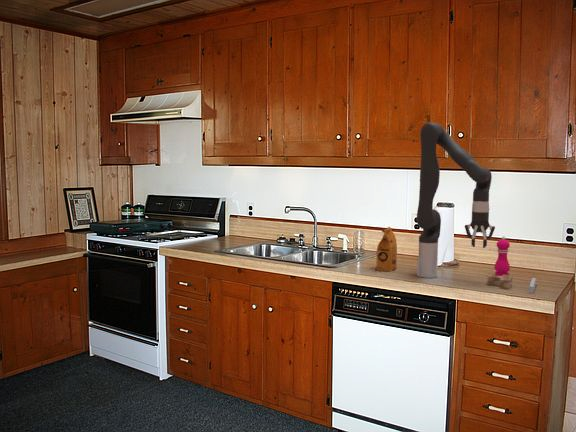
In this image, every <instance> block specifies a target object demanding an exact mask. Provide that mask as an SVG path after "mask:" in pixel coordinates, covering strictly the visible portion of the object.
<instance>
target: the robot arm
mask: <svg viewBox="0 0 576 432" xmlns="http://www.w3.org/2000/svg"><path fill="white" fill-rule="evenodd" d="M419 133H420V136H419V137H420V150H421V151H420V168H419V169H420V170H419V193H418V194H419V195H418V196H419V197H418V205H417V210H416V211H417V213H416V223H417V225H418V227H419V228H420V229H422V232H421V234H420V235H419V236H418V256H417V258H416V261H417V262H416V276H417V277H421V278H425V279H426V278H430V279H431V278H432V279H433V278H434V279H435V278H437V277H438V259H439V257H438V254H439V253H438V252H439V251H438V250H439V238H440V237H441V235H440V234H441V225H442V220H441V219H442V218H441V214H440V212H439V211H438V210H436V209H434V208H433V207H434V205H433V203H434V198H435V196H436V193H437V191H438V188H439V184H440V176H441V175H440V173H441V171H440V164H439V159H438V156H437V145H438V146H440V147H441V148H442V149H443V150H444V151H445V152H446V153H447V155H448V156H449V157H450V158H451V160H452V161H453V162H454V163H455V164H456V165H458V167H460V168H461V169H462V170H464V172H465V173H466V174H467V175H468V176H469V178H470V179H471V180H472V181H474V182H475V188H474V189H473V193H472V203H471V222H470V223H469V224H465V225H464V229H465V233H466V236H467V238H470V239H471V246H472V247H473V248H475V247H476V236H477V234H478V233H482V236H483V240H482V241H483V242H482V243H483V244H482V248H483V249H485V248H486V247H487V245H488V240H490V239H492V237H493V234H494V232H495V230H496V226H494V225H491V224H490V223H489V220H490V218H489V217H490V216H489V215H490V189H491V184H492V179H493V178H492V171H491V169H489V168H488V167H483V166H480V164H478V163H477V160H476V158H474V157H473V156H472V155H471V154H470V153H469V152H468V151H466V150H465V149H464V148H463V147H461V146H460V145H459V143H457V142H456V140H454V139H453V138H452V137H451V135H450V134H449V133H448V132H447V131H446V129H444V127H443V126H442V125H441V124H440V123H437V122H425V123H424V124H423V125H422V127H421V128H420V132H419ZM471 228H472V230H473V232H472V234H471V231H470V229H471ZM488 229H489V230H490V231H489V234H488V236H487V230H488Z"/></svg>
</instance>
